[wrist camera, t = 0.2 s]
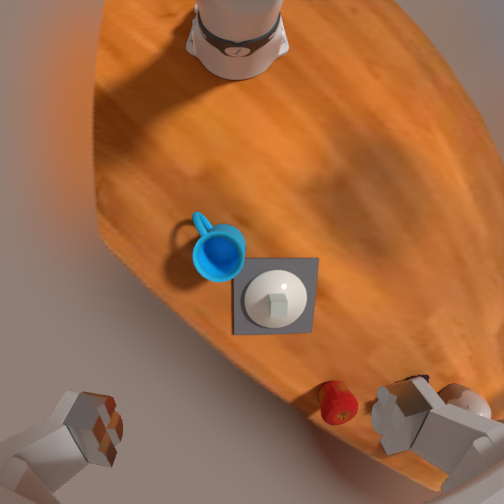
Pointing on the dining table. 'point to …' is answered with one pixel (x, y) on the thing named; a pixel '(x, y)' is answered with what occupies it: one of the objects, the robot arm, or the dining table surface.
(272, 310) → the lid
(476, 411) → the vase
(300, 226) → the dining table surface
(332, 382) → the apple
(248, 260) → the mat
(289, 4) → the dining table surface
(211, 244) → the mug
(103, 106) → the dining table surface
